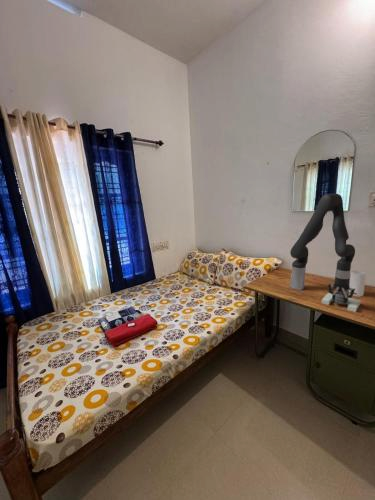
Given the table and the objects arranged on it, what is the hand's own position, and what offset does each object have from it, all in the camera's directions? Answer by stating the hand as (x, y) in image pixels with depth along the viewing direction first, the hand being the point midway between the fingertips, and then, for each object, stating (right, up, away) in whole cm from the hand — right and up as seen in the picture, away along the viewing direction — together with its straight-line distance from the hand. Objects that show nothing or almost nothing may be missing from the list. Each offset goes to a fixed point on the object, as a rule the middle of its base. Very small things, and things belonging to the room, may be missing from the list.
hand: (339, 301), depth 137 cm
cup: (+22, +2, +15) cm, 26 cm away
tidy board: (+2, -2, +2) cm, 4 cm away
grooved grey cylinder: (0, -1, 0) cm, 1 cm away
